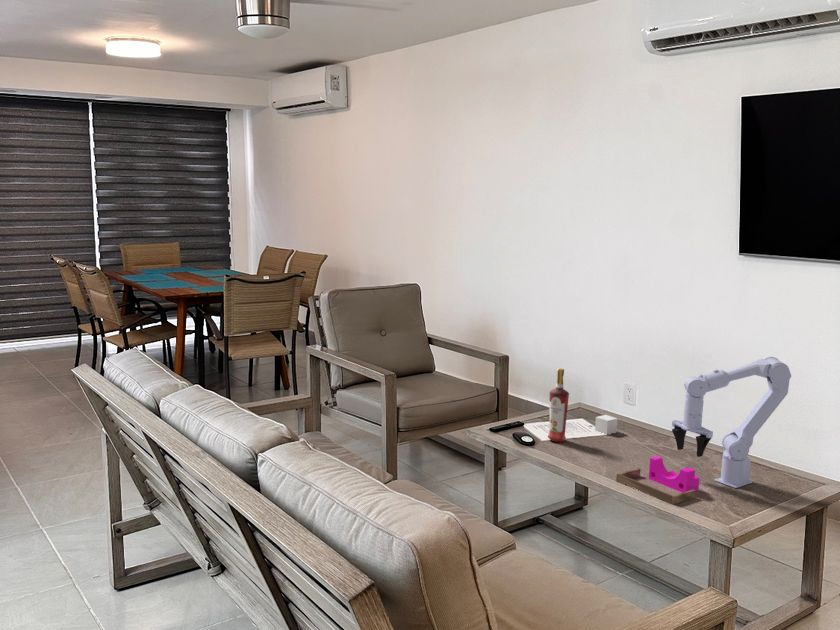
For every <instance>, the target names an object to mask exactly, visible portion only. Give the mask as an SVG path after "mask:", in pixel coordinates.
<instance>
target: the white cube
mask: <svg viewBox="0 0 840 630" xmlns="http://www.w3.org/2000/svg"><path fill="white" fill-rule="evenodd" d="M594 425H595V426H594V431H595V430H596V431H598V432H597V433H599V432H601V433H600V434H602V433H604V434H603V435H605V434H606V435H605V436H608V435H607V434H609V435H612V434H611V433H614V434H616V432H618V418H616V417H613V416H612V415H608V414H603V415H600V416H595V424H594ZM596 431H595V432H596Z"/></svg>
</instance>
